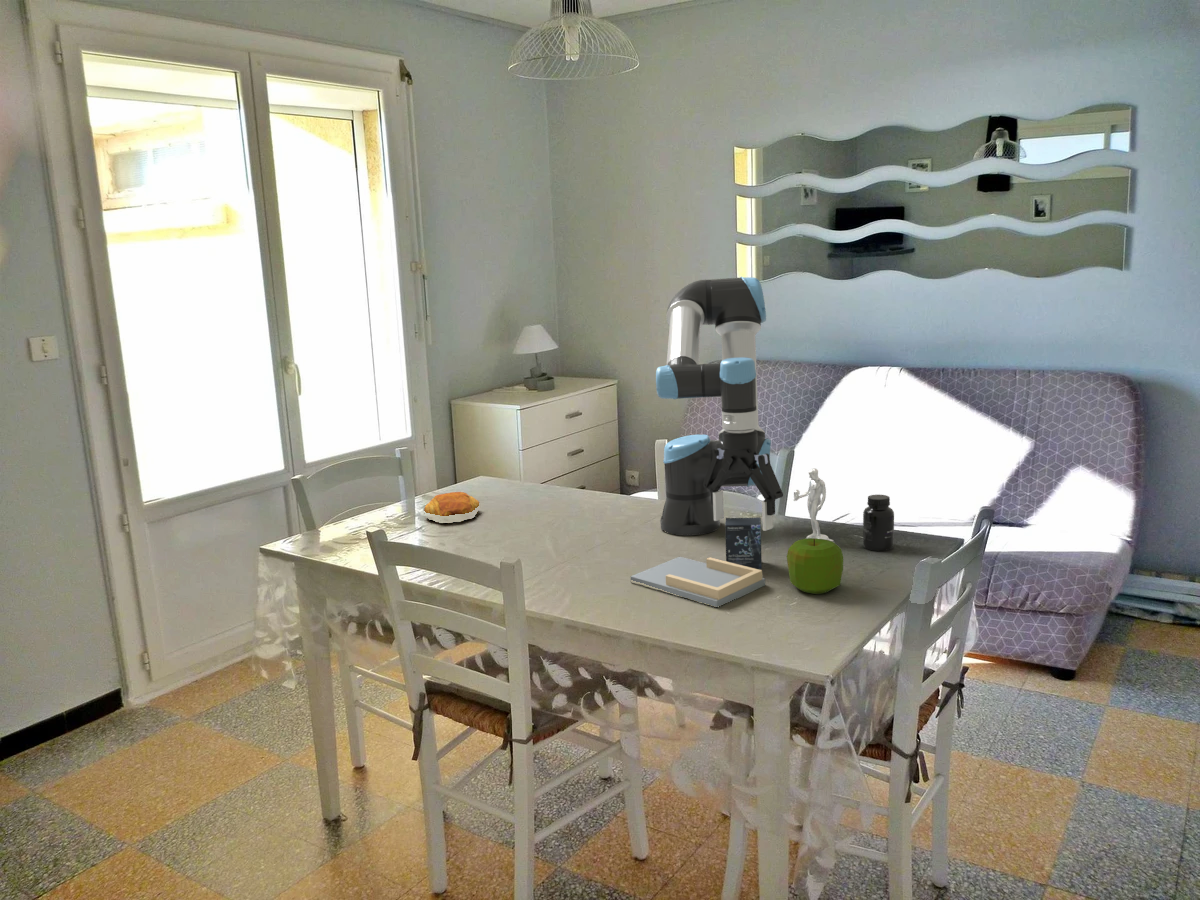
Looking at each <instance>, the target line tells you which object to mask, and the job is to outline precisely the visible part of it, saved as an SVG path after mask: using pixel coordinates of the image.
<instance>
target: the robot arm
mask: <svg viewBox="0 0 1200 900" xmlns="http://www.w3.org/2000/svg"><path fill="white" fill-rule="evenodd" d="M764 297H765V296H764V291H763V288H762V284H761V281H760V280H759V278H757V277H752V276H751V277H748V276H747V277H743V276H740V277H731V278H714V279H713V278H712V279H699V280H695V281H693V282H690V283H688V284H687V285H685V286H684V287H682V288H681V289H680V290H679V291H678V292H677V293H675V294H674V296H673V297H672V299H671V300H670V301H669V304H668V306H667V310H666V322H667V325H668V326H669V330H668V331H669V332H668V339H667V340H668V341H667V352H666V353H667V354H666V355H667V356H666V365H663V366H661V365H660V366H658V367H656V371H655V385H656V386H655V387H656V394H657V396H658V398H659V399H663V400H664V399H666V400H667V399H668V400H669V399H671V400H677V399H678V400H679V399H696V398H699V399H700V398H721V399H720V400H721V427H722V429H721V430H720V431H719V432H718V433H717V434H718V435H717V436H718V440H711V438H710V436H709V435H708V434H698V433H697V434H690V435H684V436H681V437H678V438H674V439H672V440H669V441H668V442H667V443H666V444H665V446H664V447H663V449H664V450H663V460H662V461H663V464H664V480H665V483H664V484H665V485H664V486H665V502H664V505H663V508H662V513H661V516H660V529H662V530H661V531H663V530H664V531H666V532H668V533H667V534H669V533H672V534H671V535H674V534H676V536H699V535H706V534H709V533H712V532H715V531H716V530H718V529H719V528H720V527H721V520H723V519H725V511H724V510H725V508H724V490H721V489H722V488H727V487H728V488H730V487H734V488H735V487H747V488H749V487H755V486H756V487H757V489H758V491H759V492H760V494H761V496H762V497H763V498H764V499H763V500H762V501H761V514H762V515H761V517H762V518H761V519H762V520H761V523H762V531H765V532H766V531H768V530H772V529H774V515H775V514H776V500H777V499H781V498H782V497H784V493H783V490H782V488H781V486H780V483H779V481H778V479H777V476H776V473H775V472H774V470H773V467H772V465H771V457H770V455H771V449H772V448H771V447H772V445H771V444H772V440H771V439H770V438H766V432H765V430H763V429H762V427H760V425H759V406H758V405H759V403H758V402H759V400H758V399H759V398H758V379H757V377H758V375H757V351H756V347H757V346H756V335H757V333H759V331H761V329H762V326H761V325H762V323H763V324H764V322H766V321H767V312H766V305H765V304H766V303H765V302H766V301H765V298H764ZM704 325H706V326H708V325H709V326H711V325H714V326H715V332H716V333H717V334H718V335H719V336H720V337H721V361H720V363H702V364H700V340H701V337H700V334H701V328H702V326H704ZM664 531H663V532H664ZM666 532H665V533H666Z"/></svg>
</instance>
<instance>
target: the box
mask: <svg viewBox="0 0 1200 900" xmlns="http://www.w3.org/2000/svg"><path fill="white" fill-rule="evenodd" d="M761 519H762V518H761V517H760V516H759V517H757V516H756V517H725V523H724V524H725V525H724V527H725V528H724V529H725V531H724V532H725V534H724V535H725V537H724V538H725V559H726V560H725V561H726V562H730V563H734V564H738V565H742V566H747V567H751V568H755V569H759V570H763V569H762V567H763V566H762V565H763V564H762V562H763V561H762V557H763V555H762V520H761Z"/></svg>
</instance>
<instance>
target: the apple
mask: <svg viewBox="0 0 1200 900" xmlns="http://www.w3.org/2000/svg"><path fill="white" fill-rule="evenodd" d="M834 542H835V541H834ZM834 542H832V541H829V540H825V539H817V538H806V539H805V538H801V539H798V540H795V541H794V542H793V543H791V545H790V546H789V547H788V550H787V554H786V562H787V570H788V575H789V576H788V577H789V581H790V583H791V585H792V586H794V587H796V588H797V589H798V590H800V591H801V592H804V593H807V594H811V595H812V594H813V595H819V594H820V595H821V594H825V593H828V592H829V591H831V590H834V589H835V588H837V587H839V586H840V585H841V584H842V583H841V582H842V577H843V576H842V575H843V572H844V554H843V551H842V548H841V547H840V546H839V545H837V544H836V542H835V543H834Z"/></svg>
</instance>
